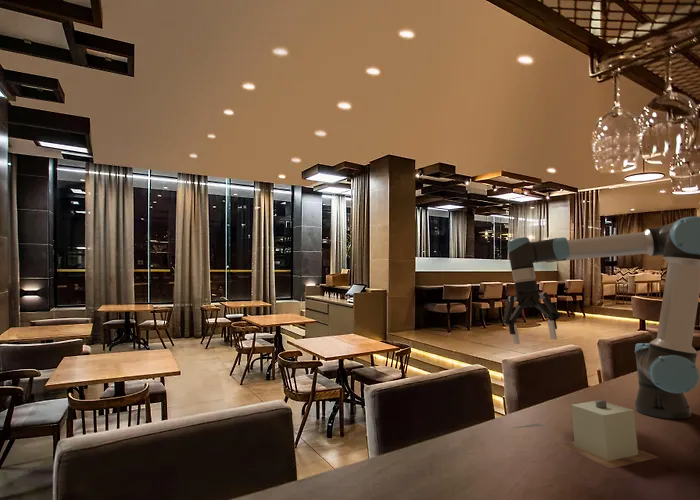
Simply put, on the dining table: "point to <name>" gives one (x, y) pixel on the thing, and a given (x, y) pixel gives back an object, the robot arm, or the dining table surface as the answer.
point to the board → (614, 463)
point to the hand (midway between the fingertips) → (535, 341)
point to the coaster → (530, 425)
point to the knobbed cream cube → (604, 429)
